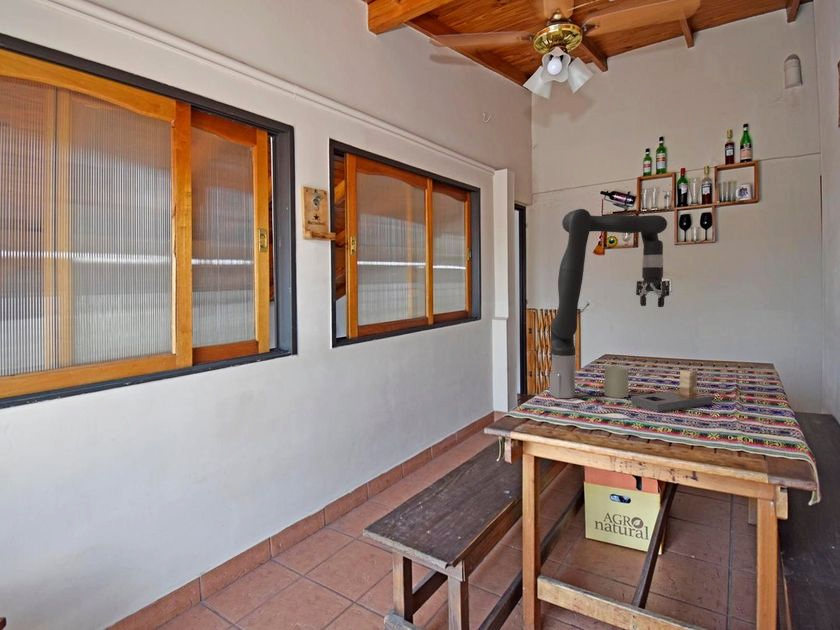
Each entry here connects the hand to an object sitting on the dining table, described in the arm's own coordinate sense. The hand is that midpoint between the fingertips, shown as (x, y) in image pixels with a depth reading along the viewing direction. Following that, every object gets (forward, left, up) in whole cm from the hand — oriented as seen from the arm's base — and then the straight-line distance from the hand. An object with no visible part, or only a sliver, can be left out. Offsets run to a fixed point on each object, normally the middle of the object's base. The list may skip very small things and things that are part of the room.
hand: (651, 306), depth 187 cm
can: (-14, +4, -36) cm, 39 cm away
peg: (+3, -15, -36) cm, 39 cm away
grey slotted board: (-5, -15, -36) cm, 39 cm away
